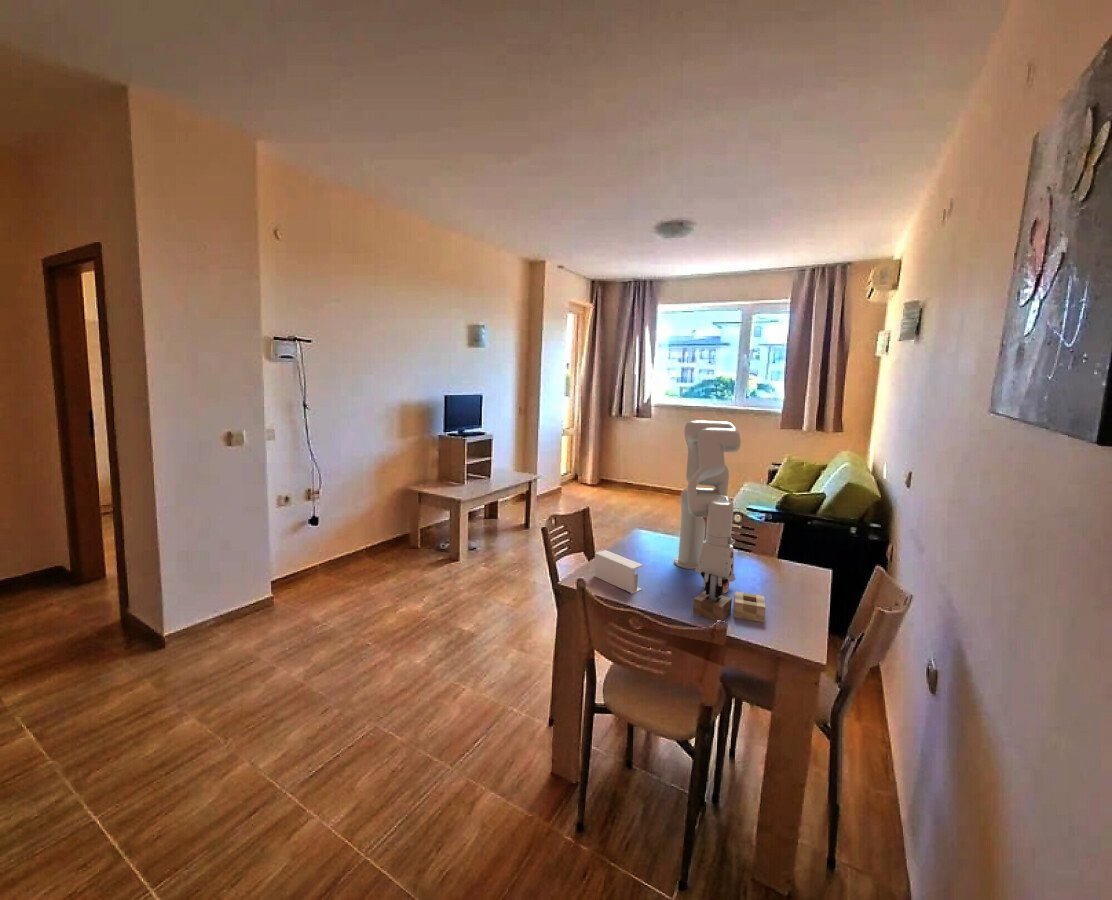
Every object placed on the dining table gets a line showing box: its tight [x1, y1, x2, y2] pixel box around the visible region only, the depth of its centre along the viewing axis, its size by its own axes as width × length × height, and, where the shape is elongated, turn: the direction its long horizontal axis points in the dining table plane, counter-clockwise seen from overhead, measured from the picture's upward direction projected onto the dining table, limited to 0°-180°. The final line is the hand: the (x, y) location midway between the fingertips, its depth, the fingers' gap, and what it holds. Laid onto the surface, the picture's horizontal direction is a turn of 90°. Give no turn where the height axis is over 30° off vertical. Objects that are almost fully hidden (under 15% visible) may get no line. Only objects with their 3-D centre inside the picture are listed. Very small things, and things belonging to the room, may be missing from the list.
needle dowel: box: [709, 574, 718, 602], centre depth 164 cm, size 3×3×12 cm
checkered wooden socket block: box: [733, 590, 766, 623], centre depth 166 cm, size 9×9×5 cm
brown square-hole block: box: [692, 590, 733, 622], centre depth 165 cm, size 9×9×5 cm
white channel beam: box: [593, 549, 644, 595], centre depth 186 cm, size 20×6×9 cm, turn 40°
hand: (713, 594), depth 164 cm, fingers closed on needle dowel, 2 cm apart
